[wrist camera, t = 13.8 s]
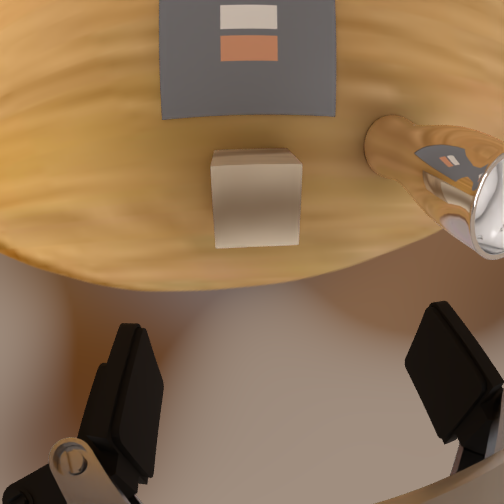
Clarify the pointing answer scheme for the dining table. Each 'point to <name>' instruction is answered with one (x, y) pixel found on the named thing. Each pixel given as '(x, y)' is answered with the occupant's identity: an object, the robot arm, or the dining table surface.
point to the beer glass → (446, 176)
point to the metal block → (256, 197)
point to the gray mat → (247, 57)
